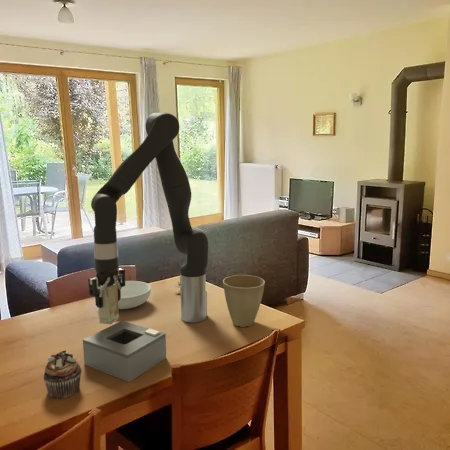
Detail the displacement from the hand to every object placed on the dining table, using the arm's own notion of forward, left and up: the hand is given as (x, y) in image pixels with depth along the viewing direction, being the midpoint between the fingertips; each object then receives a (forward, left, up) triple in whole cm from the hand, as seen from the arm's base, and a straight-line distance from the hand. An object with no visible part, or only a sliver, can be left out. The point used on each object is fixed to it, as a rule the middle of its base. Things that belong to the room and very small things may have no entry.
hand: (108, 303), depth 147 cm
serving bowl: (-24, -17, -12) cm, 32 cm away
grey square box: (+9, +16, -12) cm, 22 cm away
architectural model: (-48, -6, -13) cm, 50 cm away
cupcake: (+29, +13, -12) cm, 34 cm away
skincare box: (0, 0, -6) cm, 6 cm away
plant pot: (-34, +32, -12) cm, 48 cm away
